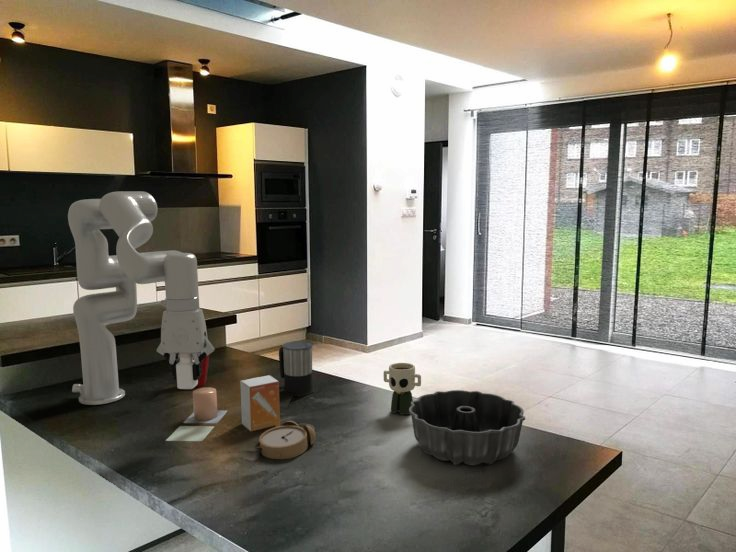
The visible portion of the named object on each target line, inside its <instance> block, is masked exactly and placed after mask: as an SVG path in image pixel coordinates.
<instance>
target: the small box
mask: <svg viewBox="0 0 736 552" xmlns="http://www.w3.org/2000/svg"><path fill="white" fill-rule="evenodd" d="M239 383H240V405H241V407H240V409H241V411H240V412H241V425H242V426H244V427H245V428H246V429H247V430H249V431H250V432H253V431H254V432H255V431H257V430H258V431H260V430H262V429H266V428H270V427H274V428H275V427H278V426H281V414H280V413H281V412H280V409H281V407H280V388H279V386H280V383H279V380H277V379H276V378H275V377H273V376H272V375H270V374H269V375H264V376H263V375H262V376H257V377H252V378H249V379H243V380H240V381H239Z"/></svg>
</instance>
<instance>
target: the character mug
mask: <svg viewBox="0 0 736 552" xmlns="http://www.w3.org/2000/svg"><path fill="white" fill-rule="evenodd" d="M416 379H417V382H416ZM383 382H385V383H388V385H389V388H390V390H392V391H393V393H392V395H391V396H392V397H391V403H390V412H391V413H394V414H398V412H399V415H408V414H410V413H409V408H410V407H411V402H412V401H414V398H413V394H412V391H414V389H415V387H421V386H422V375H421V374H418V373H416V366H415V365H414V364H413V363H409V362H396V363H395V362H394V363H392V364H390V365H389V366H388V370H383Z"/></svg>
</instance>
